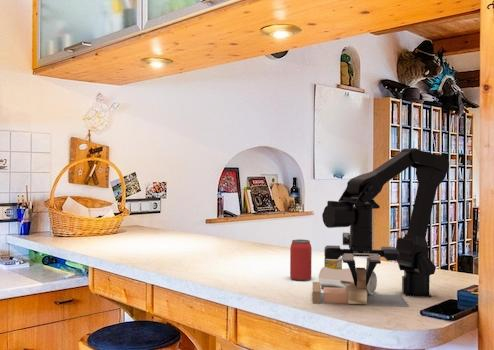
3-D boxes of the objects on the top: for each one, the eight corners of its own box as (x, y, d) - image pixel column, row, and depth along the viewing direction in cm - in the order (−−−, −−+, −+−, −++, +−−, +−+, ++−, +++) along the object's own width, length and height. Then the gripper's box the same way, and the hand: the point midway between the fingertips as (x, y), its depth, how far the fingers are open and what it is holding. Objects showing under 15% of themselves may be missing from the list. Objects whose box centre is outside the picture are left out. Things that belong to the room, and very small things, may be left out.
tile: (346, 297, 141) (346, 288, 141) (347, 303, 135) (348, 293, 135) (323, 296, 142) (323, 287, 142) (324, 302, 136) (324, 292, 136)
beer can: (290, 276, 169) (290, 239, 169) (311, 276, 168) (311, 239, 168) (290, 280, 162) (290, 242, 162) (311, 281, 162) (311, 242, 162)
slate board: (401, 296, 144) (401, 284, 144) (409, 308, 132) (409, 294, 132) (312, 293, 147) (312, 281, 147) (312, 304, 135) (313, 291, 135)
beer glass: (331, 279, 157) (379, 285, 148) (321, 294, 152) (370, 300, 143) (325, 260, 155) (373, 264, 146) (315, 274, 150) (364, 280, 141)
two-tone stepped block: (363, 295, 142) (363, 265, 142) (367, 304, 133) (367, 272, 133) (345, 294, 143) (346, 265, 142) (348, 303, 134) (348, 272, 133)
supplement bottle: (345, 280, 164) (345, 249, 164) (334, 282, 160) (334, 251, 160) (331, 277, 168) (331, 247, 168) (320, 279, 164) (320, 248, 164)
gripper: (392, 223, 144) (392, 280, 145) (323, 222, 146) (323, 278, 147) (400, 228, 133) (399, 289, 134) (325, 226, 135) (325, 287, 136)
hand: (360, 286), depth 138 cm, fingers closed on two-tone stepped block, 2 cm apart
